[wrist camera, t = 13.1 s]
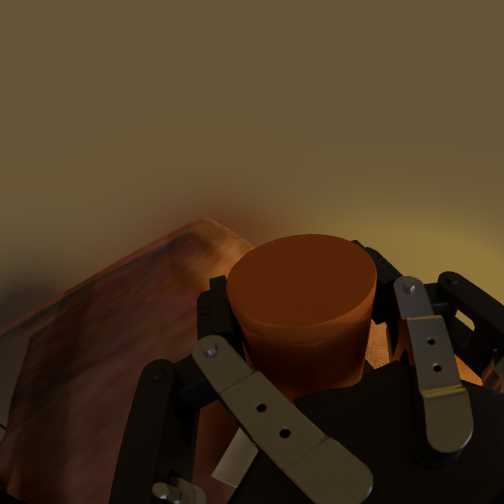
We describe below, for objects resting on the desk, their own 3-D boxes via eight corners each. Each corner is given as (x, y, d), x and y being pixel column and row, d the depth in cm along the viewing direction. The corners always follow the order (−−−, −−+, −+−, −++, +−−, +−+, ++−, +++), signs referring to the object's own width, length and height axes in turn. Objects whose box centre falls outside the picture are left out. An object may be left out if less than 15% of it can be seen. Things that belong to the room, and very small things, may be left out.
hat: (220, 430, 13) (146, 326, 8) (274, 335, 19) (248, 218, 14) (360, 468, 9) (411, 386, 5) (386, 351, 15) (408, 224, 11)
